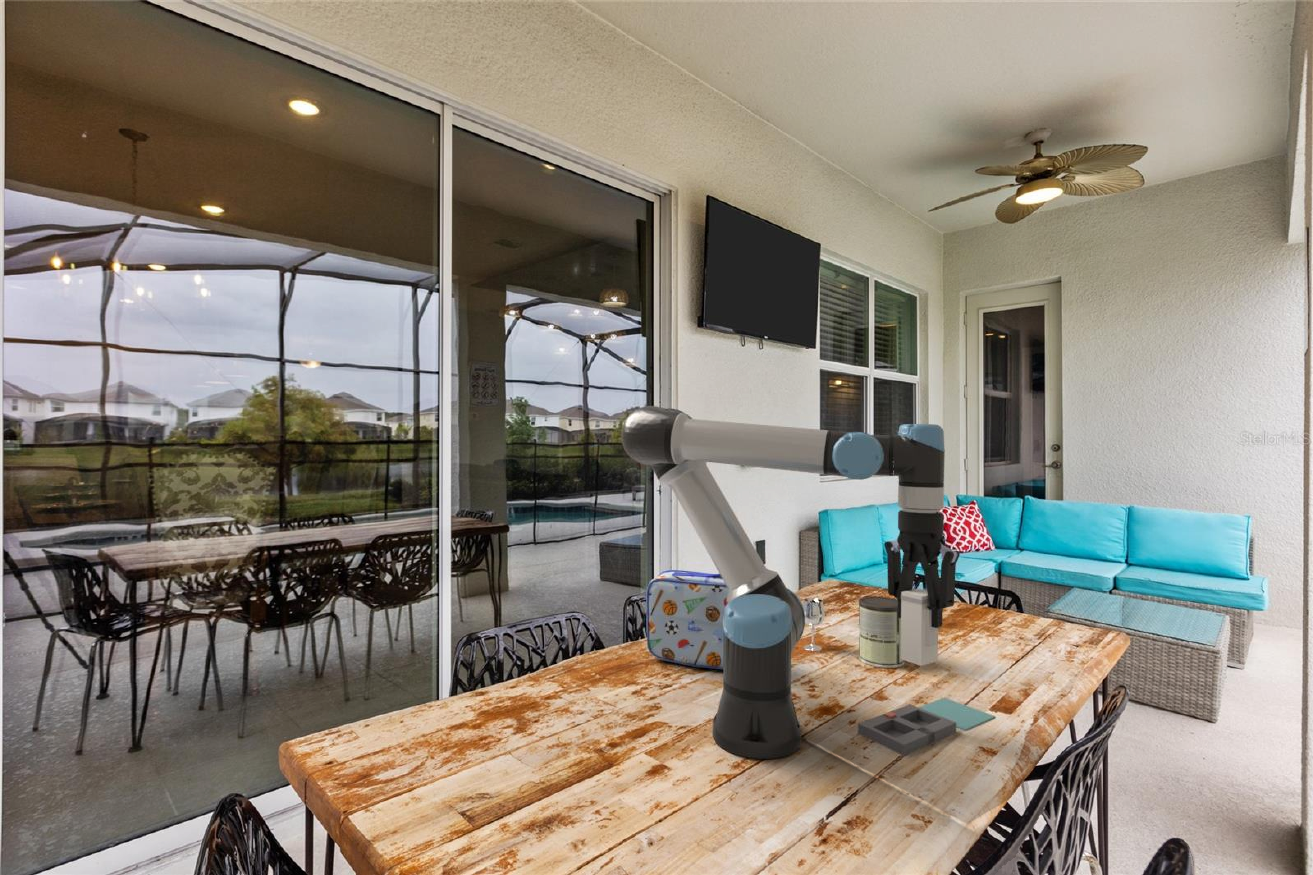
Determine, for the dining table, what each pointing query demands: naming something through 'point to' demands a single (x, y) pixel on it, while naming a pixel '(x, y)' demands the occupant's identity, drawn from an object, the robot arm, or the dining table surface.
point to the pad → (957, 713)
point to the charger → (915, 628)
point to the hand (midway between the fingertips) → (919, 641)
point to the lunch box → (687, 618)
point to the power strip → (907, 729)
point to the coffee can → (880, 632)
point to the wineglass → (813, 618)
